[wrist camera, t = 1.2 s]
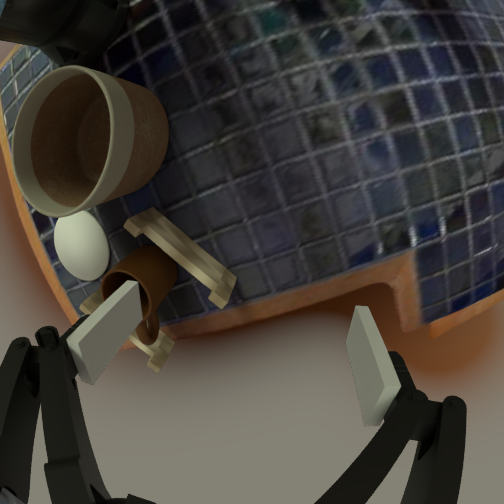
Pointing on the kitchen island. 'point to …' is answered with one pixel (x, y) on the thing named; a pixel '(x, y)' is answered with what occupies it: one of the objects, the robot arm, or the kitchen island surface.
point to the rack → (188, 258)
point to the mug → (144, 284)
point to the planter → (86, 140)
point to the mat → (82, 245)
